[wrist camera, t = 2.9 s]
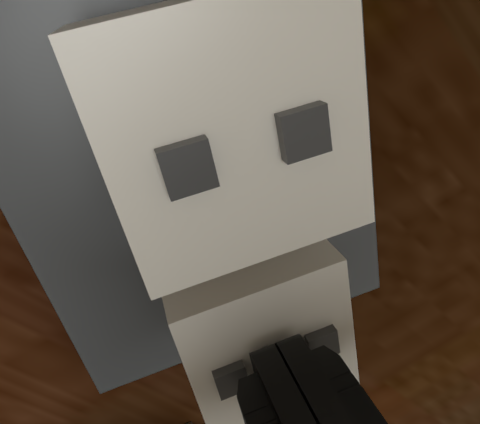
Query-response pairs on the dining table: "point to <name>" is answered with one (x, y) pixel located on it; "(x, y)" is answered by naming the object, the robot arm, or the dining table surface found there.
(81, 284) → the grey rectangular board
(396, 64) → the dining table surface
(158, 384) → the dining table surface
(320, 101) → the key
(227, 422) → the key
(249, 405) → the robot arm
